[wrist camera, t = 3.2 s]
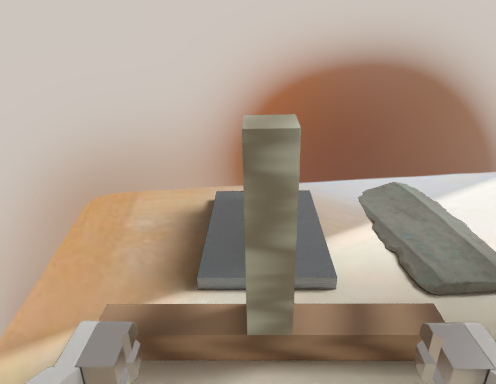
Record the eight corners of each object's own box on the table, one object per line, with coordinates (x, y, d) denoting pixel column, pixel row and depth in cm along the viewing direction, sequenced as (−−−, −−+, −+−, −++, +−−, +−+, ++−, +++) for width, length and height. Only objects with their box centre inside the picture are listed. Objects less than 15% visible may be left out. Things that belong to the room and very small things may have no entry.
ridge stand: (309, 198, 49) (312, 139, 46) (335, 288, 33) (343, 206, 29) (217, 199, 49) (213, 140, 46) (197, 289, 33) (190, 207, 30)
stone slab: (424, 313, 32) (538, 292, 32) (425, 287, 31) (543, 266, 31) (341, 202, 52) (412, 189, 53) (340, 184, 51) (412, 171, 51)
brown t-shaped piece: (427, 329, 29) (478, 111, 22) (445, 362, 26) (510, 125, 19) (112, 329, 29) (65, 117, 22) (97, 361, 26) (38, 131, 20)
